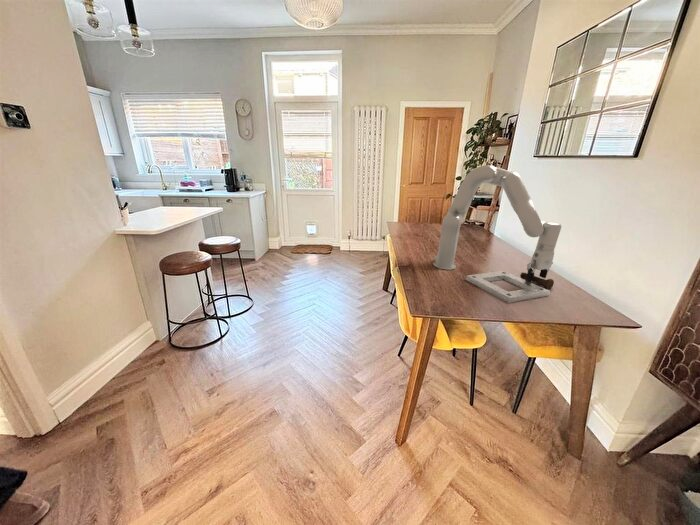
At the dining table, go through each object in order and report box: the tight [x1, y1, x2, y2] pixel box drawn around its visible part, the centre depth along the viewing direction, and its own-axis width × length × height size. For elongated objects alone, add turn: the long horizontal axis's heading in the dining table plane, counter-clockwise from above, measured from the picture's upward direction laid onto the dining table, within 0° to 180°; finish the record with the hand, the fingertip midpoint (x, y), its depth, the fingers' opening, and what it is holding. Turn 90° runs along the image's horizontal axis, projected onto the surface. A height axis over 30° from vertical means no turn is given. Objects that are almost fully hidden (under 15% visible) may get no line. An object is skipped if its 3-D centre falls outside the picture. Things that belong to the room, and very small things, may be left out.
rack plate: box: [465, 270, 551, 304], centre depth 135 cm, size 26×26×3 cm
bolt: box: [519, 272, 555, 290], centre depth 142 cm, size 6×5×15 cm
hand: (535, 278), depth 142 cm, fingers open, 9 cm apart
